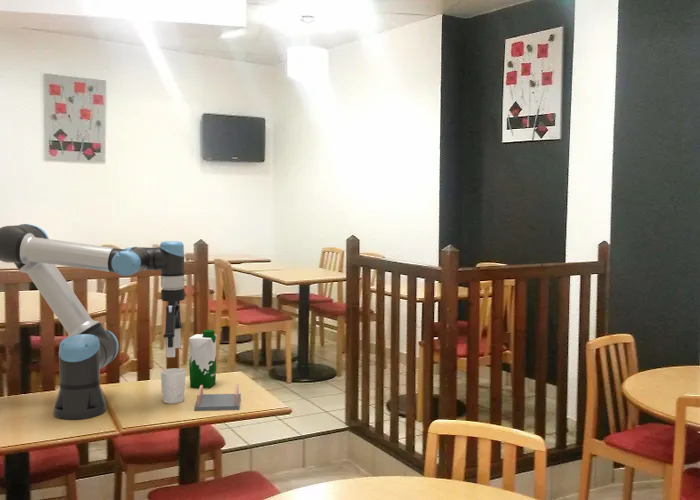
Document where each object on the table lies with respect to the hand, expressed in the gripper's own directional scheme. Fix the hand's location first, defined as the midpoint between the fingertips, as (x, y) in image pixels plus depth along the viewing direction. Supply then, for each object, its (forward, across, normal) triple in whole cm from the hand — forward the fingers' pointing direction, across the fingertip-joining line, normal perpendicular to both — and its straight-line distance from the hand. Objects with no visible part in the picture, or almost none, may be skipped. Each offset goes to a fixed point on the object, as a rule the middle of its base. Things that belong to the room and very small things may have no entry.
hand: (173, 352), depth 224 cm
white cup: (+16, 0, 0) cm, 17 cm away
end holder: (+16, -4, -15) cm, 22 cm away
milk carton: (+16, +18, -8) cm, 26 cm away
